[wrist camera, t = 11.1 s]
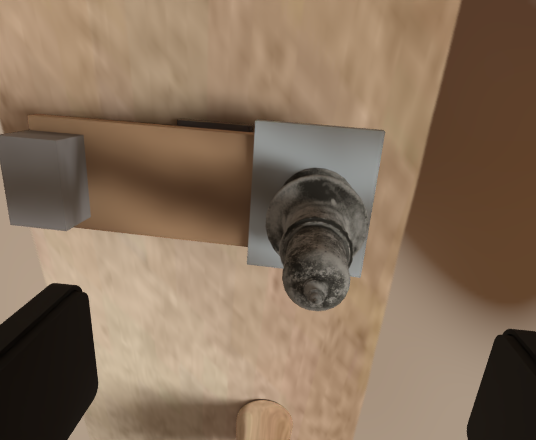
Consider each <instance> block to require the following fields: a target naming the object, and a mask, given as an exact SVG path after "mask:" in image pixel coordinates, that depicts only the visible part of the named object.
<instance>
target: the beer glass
mask: <svg viewBox="0 0 536 440" xmlns="http://www.w3.org/2000/svg"><path fill="white" fill-rule="evenodd" d="M292 428H293V422H292V418H291V415H290V414H289V412H288V411H287V410H286V409H285V408H284V407H283V406H281V405H279V404H277V403H275V402H272V401H268V400H256V401H252V402H249V403H247V404H246V405H244V406H243V407H242V408H241V409H240V411H239V412H238V414H237V418H236V440H290V437H291V433H292Z"/></svg>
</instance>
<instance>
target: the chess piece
mask: <svg viewBox="0 0 536 440" xmlns="http://www.w3.org/2000/svg"><path fill="white" fill-rule="evenodd" d="M265 227H266V231H267V236H268V239H269V241H270V243H271V245H272V247H273V249H274V250H275V251H276V253H277V254H278V255H279V256H280V259H281V262H282V264H283V266H284V267H283V276H282V280H283V284H284V288H285V291H286V293H287V294H288V296H289V298H290V299H291V300H292V301H293V302H294V303H296V304H297V305H299V306H300V307H302V308H305V309H307V310H312V311H324V310H328V309H331V308H334V307H335V306H337V305H338V304H340V303H341V301H342V300H343V299H344V298H345V296H346V294H347V292H348V290H349V286H350V273H349V268H350V266H351V263H352V261H353V257H354V256H355V255H356V253H357V252H358V251H359V250H360V249H361V247H362V245H363V243H364V241H365V238H366V236H367V229H368V217H367V211H366V208H365V206H364V204H363V202H362V199H361V198H360V197H359V195H358V194H357V193H356V192H355V191H354V189H353V188H352V187H351V185H350V184H349V183H348V182H347V181H346V179H345V178H343V177H342V176H341V175H339V174H338V173H336V172H334V171H331V170H328V169H324V168H310V169H304V170H302V171H300V172H298V173H296V174H294V175H293V176H291V177H290V178H289V179H288V180H287V181H286V182H285V183H284V185H283V186H282V188H281V189H280V190H279V191H278V192H277V193H276V195H275V196H274V198H273V199H272V201H271V202H270V205H269V208H268V211H267V213H266V226H265Z"/></svg>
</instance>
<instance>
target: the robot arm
mask: <svg viewBox="0 0 536 440" xmlns="http://www.w3.org/2000/svg"><path fill="white" fill-rule="evenodd" d="M97 389H98V376H97V367H96V359H95V350H94V341H93V333H92V324H91V315H90V307H89V298H88V295H87V294H86V293H85V292H82V289H81V288H80V287H79V286H77V285H68V284H58V283H52V284H51V285H49V286H47V287H46V288H45V289H44V290H43V291H41V292H40V293H39V294H38V295H36V296H35V297H34V298H33V299H32V300H30V301H29V302H28V303H27V304H26V305H24V306H23V307H22V308H20V309H19V310H18V311H17V312H16V313H14V314H13V315H12V316H11V317H9V318H8V319H7V320H6V321H4V322H3V323H2V324H1V325H0V440H67V439H68V438H69V436H70V435H71V433H72V432H73V430H74V429H75V427H76V425H77V424H78V423H79V421H80V420H81V418H82V416H83V415H84V413H85V412H86V410H87V409H88V407H89V406H90V404H91V403H92V401H93V400H94V398H95V396H96V393H97ZM467 437H468V440H536V332H535V331H526V330H516V329H508V330H506V331H505V332H504V333H503V335H498V336H497V337H496V338H495V340H494V343H493V346H492V350H491V353H490V356H489V359H488V362H487V365H486V369H485V372H484V375H483V378H482V381H481V384H480V387H479V390H478V393H477V396H476V400H475V403H474V406H473V409H472V412H471V415H470V418H469V422H468V425H467Z"/></svg>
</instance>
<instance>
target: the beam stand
mask: <svg viewBox="0 0 536 440" xmlns="http://www.w3.org/2000/svg"><path fill="white" fill-rule="evenodd" d="M177 126H183V127H194V128H206V129H218V130H229V131H241V132H252V133H253V126H254V125H252V124H240V123H227V122H215V121H203V120H191V119H178V120H177Z"/></svg>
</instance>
